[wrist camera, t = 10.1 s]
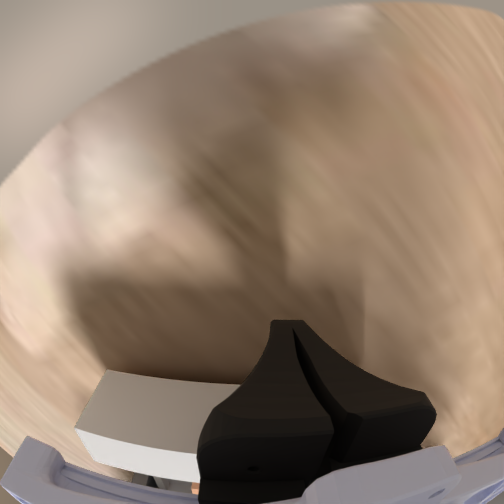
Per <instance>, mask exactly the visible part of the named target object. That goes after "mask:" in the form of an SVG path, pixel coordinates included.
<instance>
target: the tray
mask: <svg viewBox="0 0 504 504" xmlns="http://www.w3.org/2000/svg"><path fill="white" fill-rule="evenodd" d="M239 386H240V385H235V384H217V383H203V382H191V381H181V380H172V379H164V378H156V377H149V376H142V375H136V374H130V373H124V372H118V371H113V370H108V369H107V370H106V372H105V374H104V375H103V377H102V379H101V380H100V382H99V384H98V386H97V387H96V389H95V391H94V393H93V394H92V396H91V398H90V400H89V401H88V403H87V405H86V407H85V408H84V410H83V412H82V414H81V416H80V418H79V419H78V421H77V423H76V425H75V427H74V429H75V430H76V432H77V434H78V436H79V437H80V439H81V441H82V442H83V444H84V446H85V447H86V449H87V450H88V452H89V454H90V455H91V457H92V458H93V460H94V461H96V462H99V463H102V464H106V465H109V466H113V467H116V468H120V469H124V470H128V471H132V472H136V473H141V474H146V475H151V476H153V477H154V480H155V482H156V484H157V486H158V488H159V489H164V490H169V491H176V492H182V493H190V494H193V493H192V489H191V487H192V482H196V483H200V474H199V469H198V464H197V459H196V456H197V446H198V440H199V437H200V434H201V431H202V428H203V426H204V424H205V422H206V420H207V418H208V416H209V414H210V413H211V411H212V409H213V408H214V407H215V406H217V405H218V404H219V403H221V402H222V401H223V400H225V399H226V398H227V397H229V396H230V395H231V394H232V393H233V392H234V391H235V390H236V389H237V388H238V387H239Z"/></svg>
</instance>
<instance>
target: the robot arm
mask: <svg viewBox="0 0 504 504" xmlns="http://www.w3.org/2000/svg"><path fill="white" fill-rule="evenodd" d="M436 415H437V414H436V410H435V408H434V407H433V405H432V404H431V402H430V401H429V399H428V397H427V396H426V394H425V393H424V392H421V391H417V390H413V389H409V388H405V387H401V386H398V385H396V384H393V383H390V382H387V381H385V380H383V379H380V378H378V377H376V376H374V375H372V374H370V373H368V372H366V371H364V370H362V369H360V368H359V367H357V366H356V365H354V364H352V363H351V362H349V361H348V360H346V359H345V358H344V357H342V356H341V355H340V354H338V353H337V352H336V351H335V350H333V349H332V348H331V347H330V346H329V345H328V344H326V343H325V342H324V341H323V340H322V339H321V338H320V337H319V336H318V335H317V334H316V333H315V332H314V331H313V330H312V329H311V328H310V327H309V326H308V325H307V324H306V323H305V322H304V321H303V320H273V321H272V322H271V325H270V336H269V340H268V343H267V345H266V348H265V350H264V352H263V354H262V356H261V358H260V360H259V361H258V363H257V365H256V366H255V368H254V369H253V371H252V372H251V373H250V375H249V376H248V377H247V378H246V380H245V381H244V382H243V383H242V384H241V385H240V386H239V387H238V388H237V389H236V390H235V391H234V392H233V393H232V394H231V395H230V396H229V397H227V398H226V399H225V400H223V401H222V402H221V403H219V404H218V405H217V406H215V407H214V408H213V409H212V411H211V413H210V414H209V416H208V418H207V420H206V422H205V424H204V426H203V428H202V431H201V434H200V437H199V440H198V446H197V456H196V459H197V464H198V469H199V474H200V484H199V492H198V494H190V493H182V492H176V491H169V490H164V489H158V488H153V487H148V486H143V485H139V484H135V483H131V482H127V481H123V480H119V479H115V478H112V477H108V476H105V475H102V474H99V473H96V472H93V471H90V470H87V469H84V468H81V467H78V466H76V465H73V464H70V463H68V462H65V460H64V458H63V456H62V455H61V454H60V453H59V452H58V451H57V450H56V449H55V448H53V447H52V446H50V445H48V444H45V443H43V442H41V441H39V440H37V439H35V438H32V437H30V436H26V438H25V440H24V441H23V443H22V444H21V446H20V448H19V449H18V451H17V453H16V454H15V456H14V458H13V460H12V461H11V463H10V465H9V467H8V468H7V470H6V472H5V474H4V476H3V478H2V479H1V481H0V484H1V486H2V487H3V488H4V489H5V490H6V491H8V492H9V493H10V494H11V495H12V496H13V497H14V498H15V499H17V500H18V501H19V502H20V503H21V504H485V503H487V502H488V501H490V500H491V499H493V498H494V497H496V496H497V495H498V494H500V493H501V492H503V491H504V428H503V429H502V431H501V432H500V434H499V436H498V437H496V438H494V439H492V440H490V441H489V442H487V443H485V444H483V445H481V446H479V447H477V448H475V449H473V450H471V451H468V452H466V453H464V454H462V455H460V456H457V457H455V458H452V456H451V454H450V452H449V450H448V449H447V448H446V447H445V445H438V446H432V447H428V448H424V449H422V447H421V445H420V444H421V443H422V442H423V440H424V439H425V437H426V436H427V434H428V433H429V431H430V430H431V428H432V426H433V424H434V423H435V420H436Z"/></svg>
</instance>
